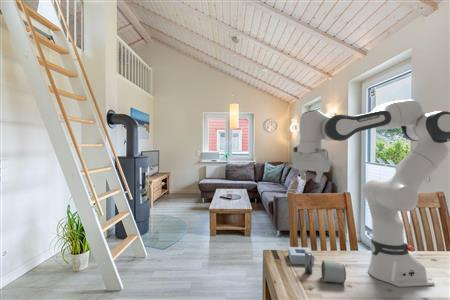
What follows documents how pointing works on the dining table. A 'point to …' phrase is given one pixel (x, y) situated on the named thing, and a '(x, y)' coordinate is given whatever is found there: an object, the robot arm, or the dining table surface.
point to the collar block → (298, 255)
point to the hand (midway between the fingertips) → (310, 181)
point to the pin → (308, 263)
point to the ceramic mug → (333, 272)
